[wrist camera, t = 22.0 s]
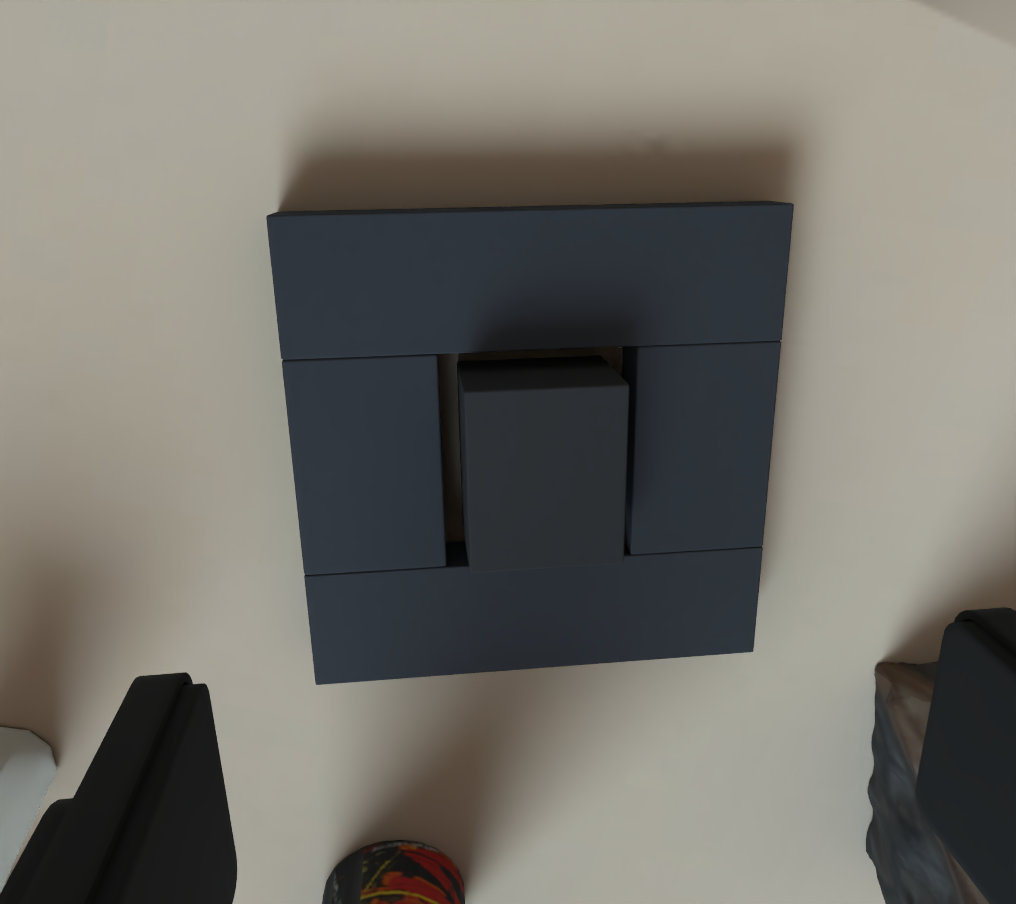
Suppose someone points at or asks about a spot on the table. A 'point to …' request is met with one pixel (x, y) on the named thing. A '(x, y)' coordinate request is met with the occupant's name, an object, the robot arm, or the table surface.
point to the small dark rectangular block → (542, 462)
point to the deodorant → (395, 876)
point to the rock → (907, 797)
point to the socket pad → (517, 327)
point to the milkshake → (20, 790)
